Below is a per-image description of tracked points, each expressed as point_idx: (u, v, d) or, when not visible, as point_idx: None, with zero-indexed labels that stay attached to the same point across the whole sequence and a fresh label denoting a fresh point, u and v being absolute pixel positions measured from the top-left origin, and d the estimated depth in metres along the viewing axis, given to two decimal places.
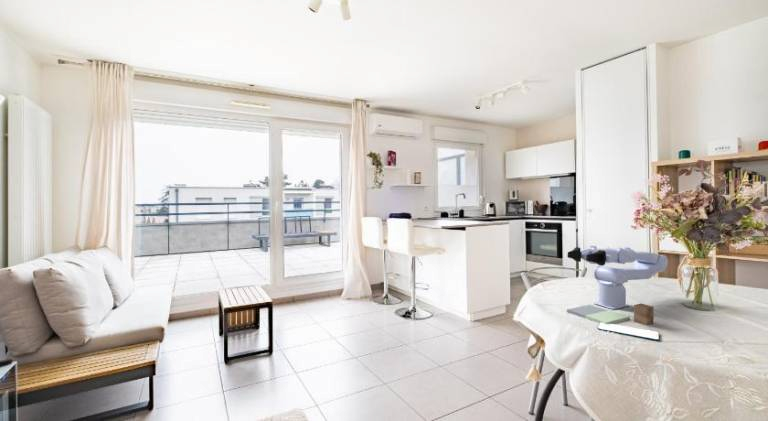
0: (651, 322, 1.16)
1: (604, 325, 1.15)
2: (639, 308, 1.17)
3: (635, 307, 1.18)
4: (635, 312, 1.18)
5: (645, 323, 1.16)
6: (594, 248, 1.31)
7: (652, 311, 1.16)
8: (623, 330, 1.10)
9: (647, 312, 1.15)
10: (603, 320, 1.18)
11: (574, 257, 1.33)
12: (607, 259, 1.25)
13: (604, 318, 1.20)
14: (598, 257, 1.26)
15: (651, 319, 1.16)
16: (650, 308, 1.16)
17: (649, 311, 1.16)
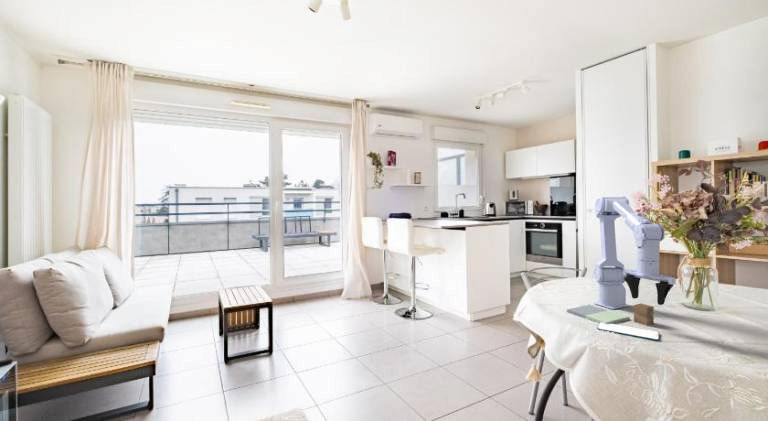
0: (651, 322, 1.16)
1: (604, 325, 1.15)
2: (639, 308, 1.17)
3: (635, 307, 1.18)
4: (635, 312, 1.18)
5: (645, 323, 1.16)
6: (644, 277, 1.10)
7: (652, 311, 1.16)
8: (623, 330, 1.10)
9: (647, 312, 1.15)
10: (603, 320, 1.18)
11: (637, 288, 1.16)
12: None
13: (604, 318, 1.20)
14: None
15: (651, 319, 1.16)
16: (650, 308, 1.16)
17: (649, 311, 1.16)
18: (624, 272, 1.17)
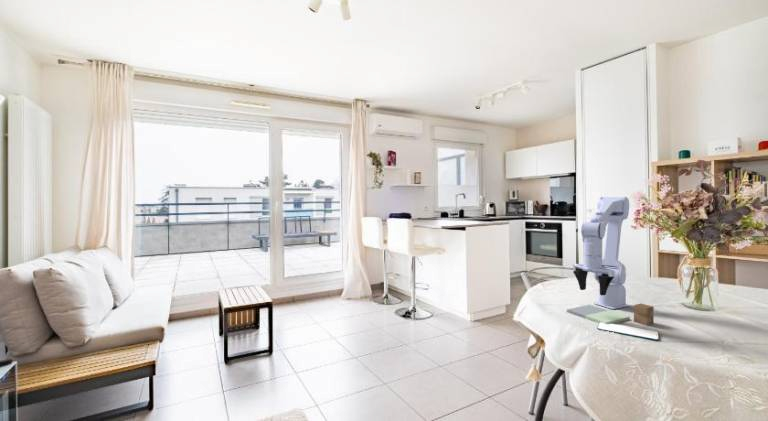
0: (651, 322, 1.16)
1: (604, 325, 1.15)
2: (639, 308, 1.17)
3: (635, 307, 1.18)
4: (635, 312, 1.18)
5: (645, 323, 1.16)
6: (589, 270, 1.21)
7: (652, 311, 1.16)
8: (623, 330, 1.10)
9: (647, 312, 1.15)
10: (603, 320, 1.18)
11: (585, 280, 1.27)
12: None
13: (604, 318, 1.20)
14: None
15: (651, 319, 1.16)
16: (650, 308, 1.16)
17: (649, 311, 1.16)
18: (573, 266, 1.29)
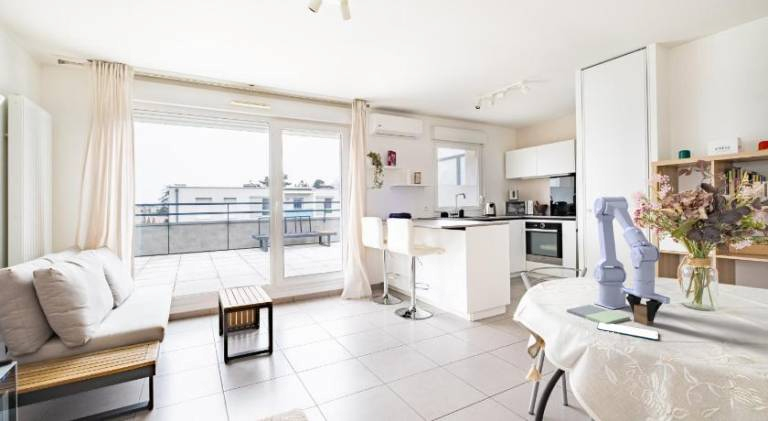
0: (651, 322, 1.16)
1: (603, 325, 1.15)
2: (639, 308, 1.17)
3: (635, 307, 1.18)
4: (635, 312, 1.18)
5: (645, 323, 1.16)
6: (640, 296, 1.16)
7: None
8: (622, 330, 1.10)
9: (647, 312, 1.15)
10: (603, 320, 1.18)
11: None
12: None
13: (604, 318, 1.20)
14: None
15: None
16: None
17: None
18: (621, 290, 1.23)
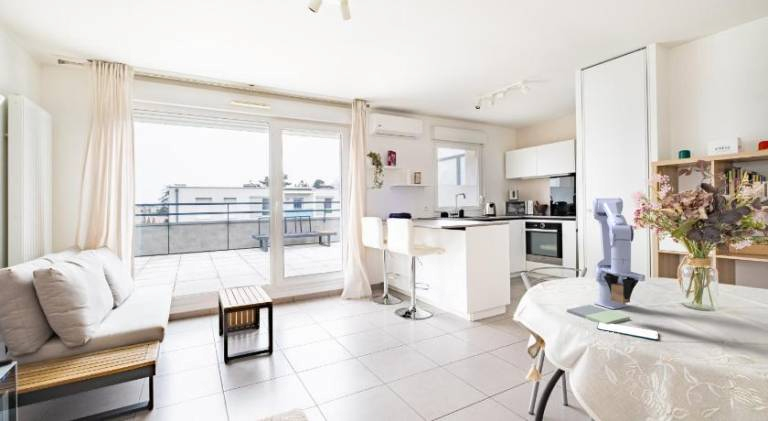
0: (628, 300, 1.19)
1: (603, 325, 1.15)
2: (616, 287, 1.19)
3: (612, 286, 1.21)
4: (612, 291, 1.21)
5: (622, 301, 1.18)
6: (617, 274, 1.18)
7: None
8: (622, 330, 1.10)
9: None
10: (603, 320, 1.18)
11: None
12: None
13: (604, 318, 1.20)
14: None
15: None
16: None
17: None
18: (600, 270, 1.26)
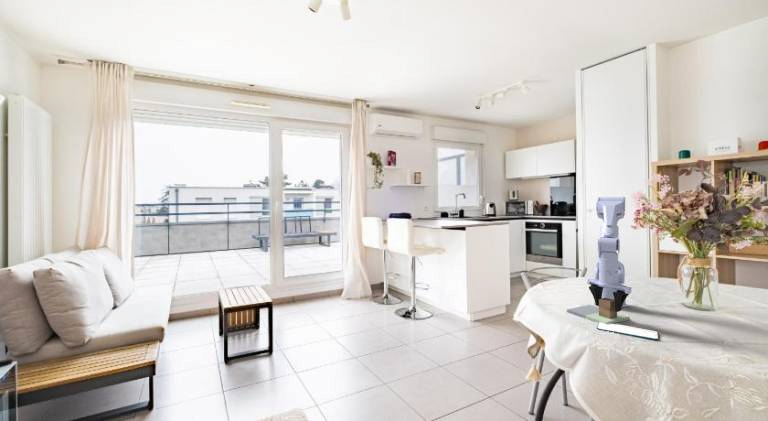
0: (615, 315, 1.20)
1: (603, 325, 1.15)
2: (603, 302, 1.21)
3: (600, 301, 1.22)
4: (600, 306, 1.22)
5: (609, 316, 1.19)
6: None
7: None
8: (622, 330, 1.10)
9: (611, 306, 1.19)
10: (603, 320, 1.18)
11: (600, 296, 1.25)
12: None
13: (604, 318, 1.20)
14: None
15: (615, 312, 1.20)
16: (614, 302, 1.20)
17: (613, 305, 1.20)
18: (588, 281, 1.27)
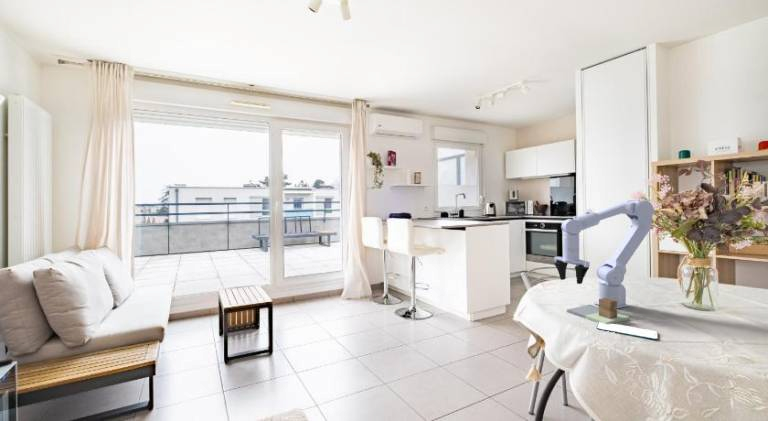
0: (615, 315, 1.20)
1: (603, 325, 1.15)
2: (603, 302, 1.21)
3: (600, 301, 1.22)
4: (600, 306, 1.22)
5: (609, 316, 1.19)
6: (567, 261, 1.37)
7: (615, 304, 1.20)
8: (622, 330, 1.10)
9: (611, 306, 1.19)
10: (603, 320, 1.18)
11: (564, 271, 1.43)
12: None
13: (604, 318, 1.20)
14: None
15: (615, 312, 1.20)
16: (614, 302, 1.20)
17: (613, 305, 1.20)
18: (555, 258, 1.44)
